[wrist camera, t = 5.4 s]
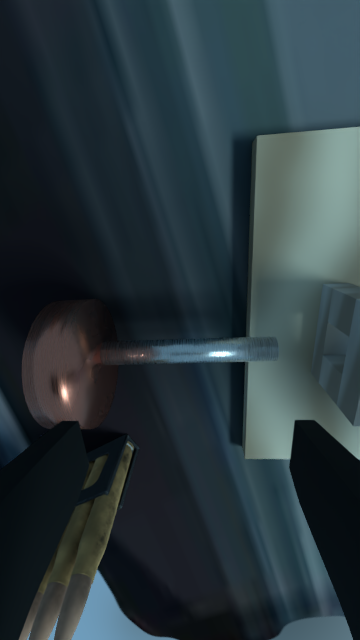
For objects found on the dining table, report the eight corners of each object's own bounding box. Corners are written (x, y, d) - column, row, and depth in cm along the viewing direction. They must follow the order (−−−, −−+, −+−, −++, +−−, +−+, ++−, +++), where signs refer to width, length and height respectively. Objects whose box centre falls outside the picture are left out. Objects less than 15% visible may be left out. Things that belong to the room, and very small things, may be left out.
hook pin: (266, 279, 16) (318, 316, 9) (261, 377, 18) (299, 463, 11) (79, 288, 17) (2, 328, 10) (97, 380, 19) (45, 461, 12)
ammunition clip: (52, 488, 25) (-67, 705, 14) (39, 476, 24) (-95, 690, 13) (139, 447, 22) (83, 671, 11) (127, 433, 22) (55, 651, 11)
